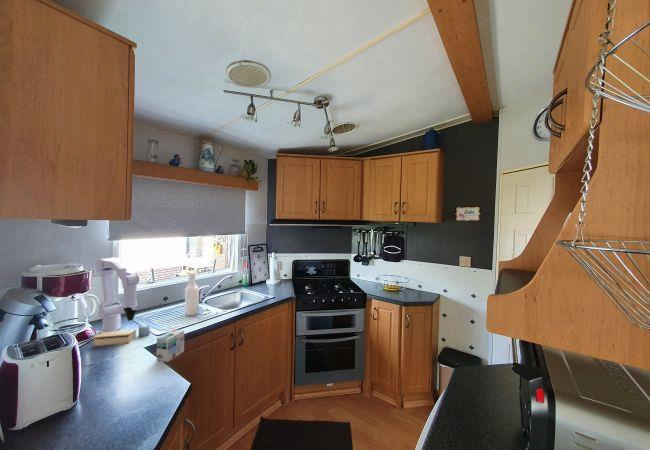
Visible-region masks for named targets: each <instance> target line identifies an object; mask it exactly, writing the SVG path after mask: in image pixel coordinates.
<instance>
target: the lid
mask: <svg viewBox="0 0 650 450" xmlns="http://www.w3.org/2000/svg"><path fill="white" fill-rule="evenodd" d="M135 331H136V332H137V330H136V329H130V330H129V329H128V330H119V331H118V330H117V331H115V332H103V333H98V334H97V335H94V336H93V339H95V338H101V337H113V336H126V335H130V334H131V333H133V332H135Z"/></svg>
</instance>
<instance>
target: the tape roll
mask: <svg viewBox="0 0 650 450" xmlns="http://www.w3.org/2000/svg"><path fill="white" fill-rule="evenodd" d="M150 330H151V327H150V324H142V325H139V326H138V337H139V338H143V337H147V336H149V335H150V334H151V332H150Z"/></svg>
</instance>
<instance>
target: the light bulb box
mask: <svg viewBox="0 0 650 450" xmlns="http://www.w3.org/2000/svg"><path fill="white" fill-rule="evenodd" d="M184 352H185V330H181V329H180V330H179V329H172V330H170V331H168V332H166V333H164V334H162V335H160V336H159V337H156V361H159V360H160V362H167V363H168V362H170V361H171V360H173V359H175V358H176V357H178V356H180V355H181V354H182V353H184Z"/></svg>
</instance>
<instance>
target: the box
mask: <svg viewBox="0 0 650 450" xmlns="http://www.w3.org/2000/svg"><path fill="white" fill-rule="evenodd" d="M136 332H137V330H136V331H135V332H133V333H131V334H130V335H126V336H113V337H101V338H93V340H92V343H93V344H92V346H93V347H102V346H104V347H105V346H117V345H124V344H130V342H132V341H134V339H135V338H136V335H137V334H136ZM131 340H132V341H131Z"/></svg>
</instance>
